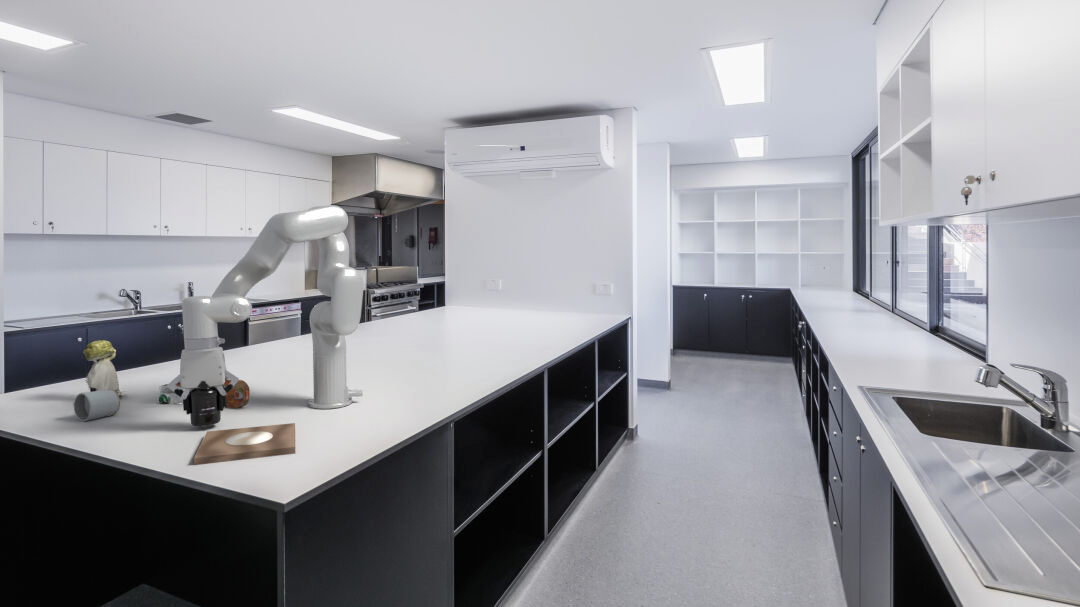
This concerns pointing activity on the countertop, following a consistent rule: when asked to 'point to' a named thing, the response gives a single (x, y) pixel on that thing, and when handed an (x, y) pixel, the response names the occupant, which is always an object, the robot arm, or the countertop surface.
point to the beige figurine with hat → (102, 367)
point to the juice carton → (170, 394)
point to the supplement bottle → (204, 405)
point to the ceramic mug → (96, 404)
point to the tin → (237, 394)
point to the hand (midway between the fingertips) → (205, 410)
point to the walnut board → (246, 443)
